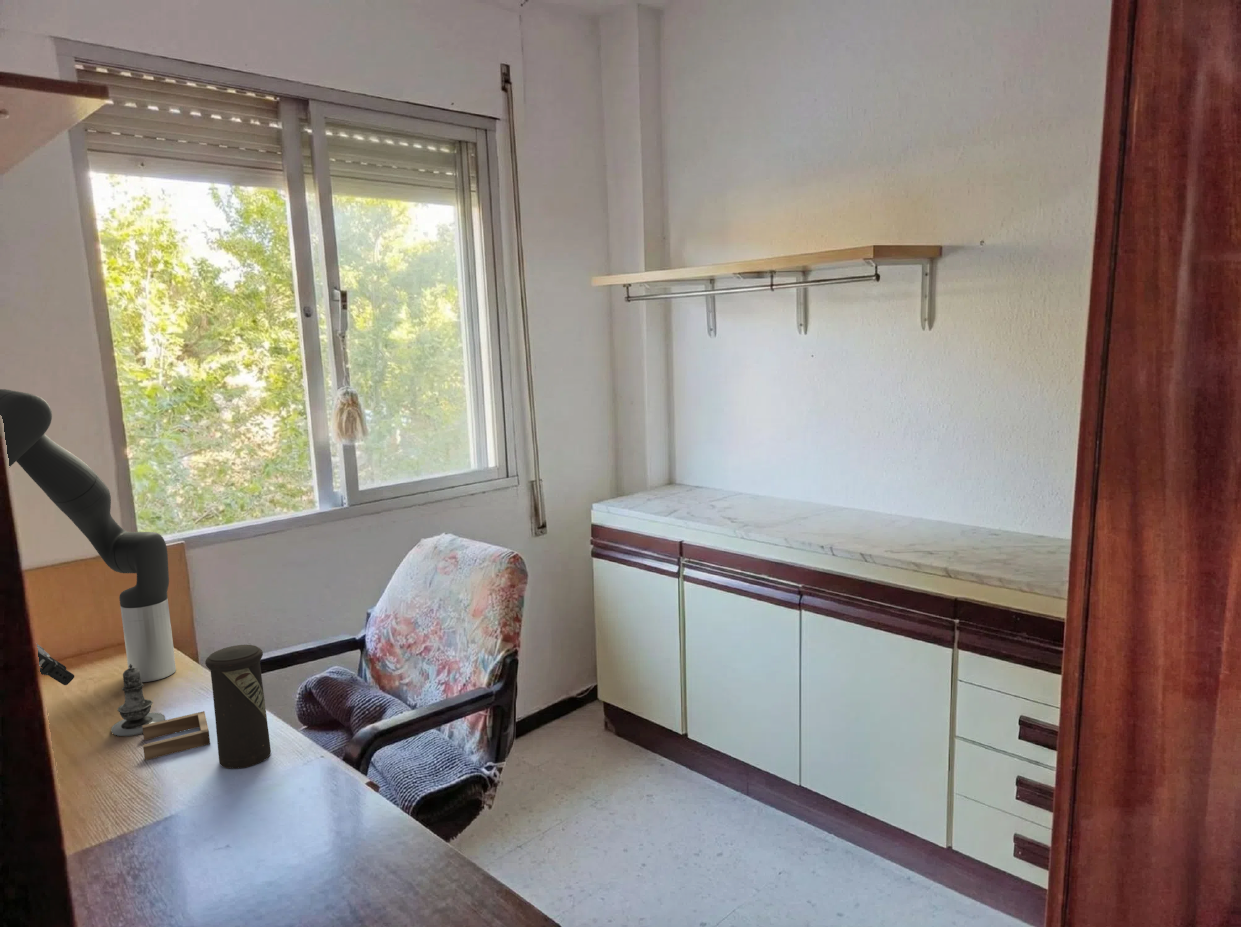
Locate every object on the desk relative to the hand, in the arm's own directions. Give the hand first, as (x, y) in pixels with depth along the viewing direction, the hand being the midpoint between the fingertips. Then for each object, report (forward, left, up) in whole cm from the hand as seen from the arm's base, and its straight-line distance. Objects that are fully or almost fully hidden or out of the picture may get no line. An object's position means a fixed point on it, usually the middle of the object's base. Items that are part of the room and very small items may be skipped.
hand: (66, 676), depth 148 cm
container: (+28, +26, -13) cm, 40 cm away
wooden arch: (+13, +16, -12) cm, 24 cm away
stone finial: (+1, +10, -12) cm, 16 cm away
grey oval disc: (+1, +10, -12) cm, 16 cm away
